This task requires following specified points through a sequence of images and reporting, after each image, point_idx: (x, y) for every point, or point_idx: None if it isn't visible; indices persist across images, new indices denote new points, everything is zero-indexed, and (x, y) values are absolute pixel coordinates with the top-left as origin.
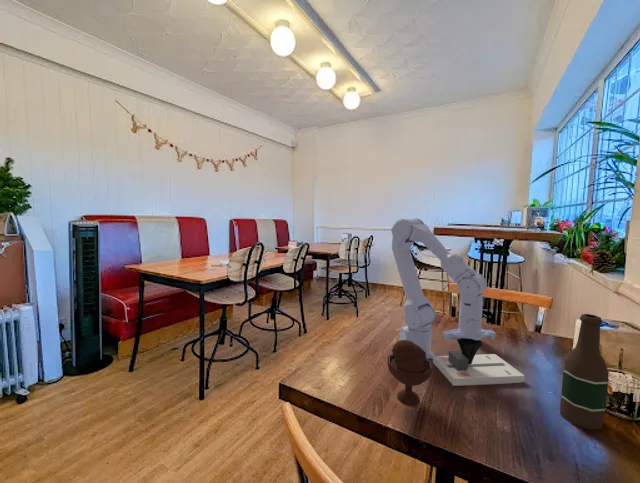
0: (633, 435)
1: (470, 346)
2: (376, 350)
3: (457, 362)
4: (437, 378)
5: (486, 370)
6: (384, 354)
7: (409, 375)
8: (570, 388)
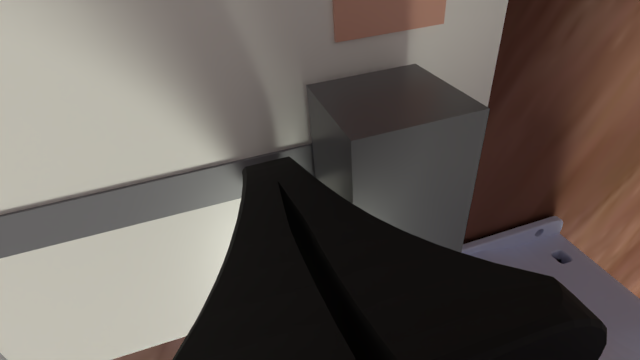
0: None
1: (443, 305)
2: (621, 259)
3: (461, 99)
4: (524, 19)
5: (70, 112)
6: (614, 236)
7: None
8: None
